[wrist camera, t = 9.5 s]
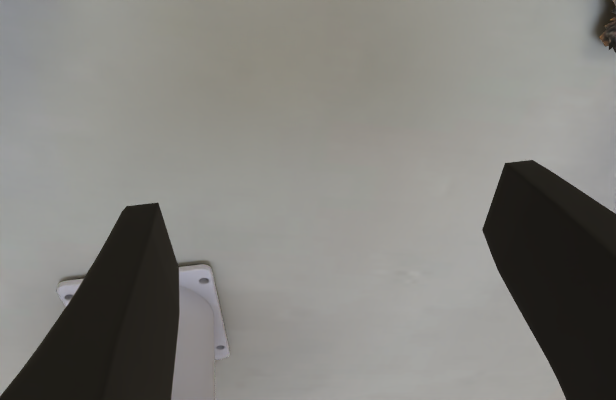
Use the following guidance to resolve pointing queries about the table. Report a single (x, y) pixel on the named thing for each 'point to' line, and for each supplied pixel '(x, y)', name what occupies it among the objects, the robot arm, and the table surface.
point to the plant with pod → (610, 32)
